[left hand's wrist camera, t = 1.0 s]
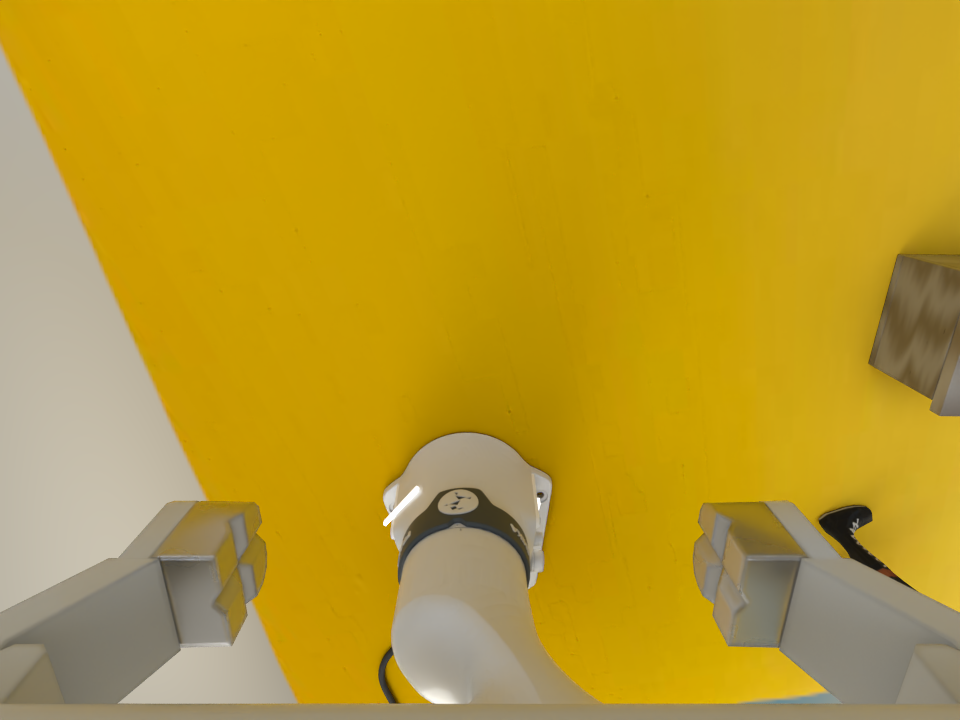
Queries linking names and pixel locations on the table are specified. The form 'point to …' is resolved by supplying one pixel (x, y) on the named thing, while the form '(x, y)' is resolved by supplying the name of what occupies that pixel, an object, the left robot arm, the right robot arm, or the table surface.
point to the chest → (918, 320)
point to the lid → (949, 381)
